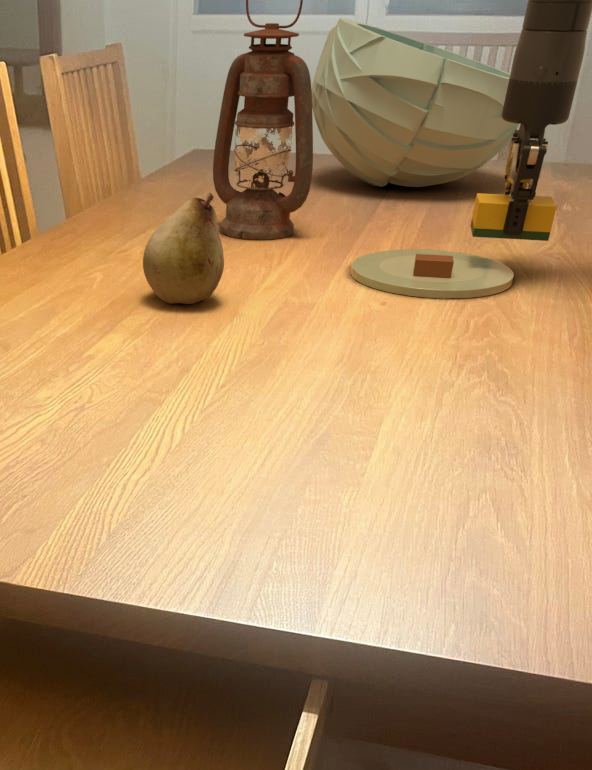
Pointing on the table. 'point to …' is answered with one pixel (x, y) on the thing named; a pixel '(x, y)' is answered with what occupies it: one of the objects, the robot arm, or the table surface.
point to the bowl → (406, 107)
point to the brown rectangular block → (433, 266)
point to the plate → (397, 277)
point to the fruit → (185, 254)
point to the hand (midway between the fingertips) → (509, 228)
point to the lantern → (265, 110)
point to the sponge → (493, 215)
